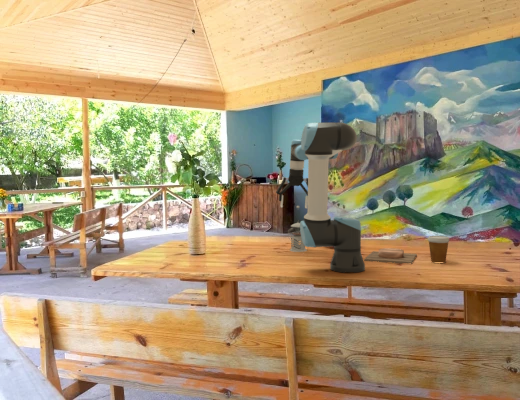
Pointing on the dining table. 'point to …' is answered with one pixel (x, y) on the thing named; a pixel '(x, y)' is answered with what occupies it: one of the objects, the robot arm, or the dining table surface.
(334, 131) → the robot arm
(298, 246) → the french press
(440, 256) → the disposable coffee cup
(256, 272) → the dining table surface
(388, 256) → the pedestal
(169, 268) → the dining table surface
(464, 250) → the dining table surface
